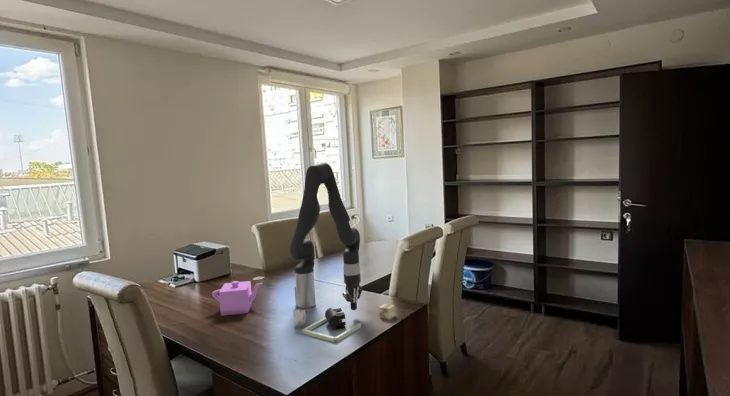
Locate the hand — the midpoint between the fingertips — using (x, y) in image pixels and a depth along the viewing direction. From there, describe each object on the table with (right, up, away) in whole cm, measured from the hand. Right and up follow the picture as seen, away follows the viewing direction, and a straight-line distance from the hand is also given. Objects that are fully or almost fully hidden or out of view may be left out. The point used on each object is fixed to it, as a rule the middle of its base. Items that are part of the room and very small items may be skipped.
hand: (353, 309), depth 181 cm
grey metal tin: (-23, -5, -7) cm, 25 cm away
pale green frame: (-9, -5, -12) cm, 16 cm away
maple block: (+15, -3, -1) cm, 15 cm away
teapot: (-58, -5, +19) cm, 61 cm away
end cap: (-8, -5, -8) cm, 12 cm away
